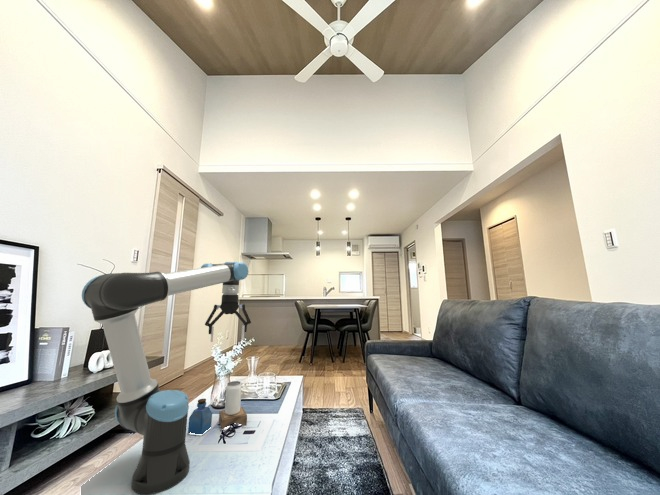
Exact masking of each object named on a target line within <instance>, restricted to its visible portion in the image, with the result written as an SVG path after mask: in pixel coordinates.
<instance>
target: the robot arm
mask: <svg viewBox="0 0 660 495" xmlns="http://www.w3.org/2000/svg"><path fill="white" fill-rule="evenodd" d="M248 275H249V267H248V265H247V264H246V263H245V262H239V261H238V262H237V261H225V262H224V263H210V262H209V263H203V264H202V265H201V266H200V267H199V268H192V269H187V270H180V271H174V272H167V273H163V272H162V271H153V272H116V273H115V272H114V273H103V274H101V275H98V276H95V277H92V279H90V280H88V282H86V283H85V285H84V286H83V288H82V291H81V299H82V302H83V304H84V305H86V307H87V308H89V309H91V314H92V316H93V321H94V322H96V323H99V324H101V325H102V328H103V331H104V332H103V333H104V336H105V339H106V344H107V346H108V351H109V353H110V358H111V361H112V365H113V369H114V372H115V376H116V380H117V383H118V386H119V387H118V388H119V391H120V392H119V393H118V395H117V396H116V403H117V405H115V409H114V417H115V420H116V422H117V423H118V425H120V426H121V427H122V428H124V429H126V430H130V431H132V432H134V433H136V434H139V435H141V436H143V439H142V440H143V441H142V448H141V449H142V450H141V455H140V457H139V460H138V463H137V465H136V467H135V469H134V472H133V475H132V479H131V490H132V491H133V492H134V493H136V494H139V495H140V494H141V495H149V494H150V495H151V494H156V493H160V492H163V491H165V490H169V489H170V488H172V487H174V486H176V485H178V484H179V483H180V482H182V481H183V480H184V479H185V478H186V477H187V476H188V474H189V471H190V462H191V461H190V458H189V454H188V450H187V446H186V436H187V428H188V426H187V424H188V416H189V408H190V405H189V397H188V395H187V393H186V392H184V391H182V390H178V389H175V390H173V389H167V390H160V386H159V383H158V380H157V379H155V378H152V377H151V373H150V369H149V366H148V361H147V357H146V354H145V350H144V345H143V342H142V339H141V334H140V331H139V327H138V322H137V319H136V313H137V311H138V310H139V308H140V307H144V306H146V305H150V304H153V303H154V304H155V303H158V302H162V301H164V300H166V299H167V298H168V297H169V296H172V295H173V296H174V295H177V294H182V293H185V292H190V291H195V290H198V289H203V288H207V287H210V286H211V287H212V286H215V285H220V284H222V288H221V289H222V291H221V293H222V295H221V302H220V304H214V305H213V309H212V311H211V313H210V314H209V316H208V318H207V320H206V321H205V323H204V325H205V326H206V327H208V335H210V342H211V343H213V341H214V331H215V330H214V325H215V323H217V321H219V319H221V317H222V316H223V315H224V314H225V315H234V314H235V315H236V317H237V318H238V320H240V321H241V323H242V325H241V336H240V337H241V341H245V333H247V329H248V325H250V324H251V323H252V321H251V318H250V316H249V314H248V312H247V310H246V305H245V304H239V293H240V292H239V291H240V281H241V280H242V281H243V280H245V279H246V278H247V277H248ZM219 309H220V310H221V311H220V312H219V313H218V315H216V317H215V318H213V317H214V315H215V313H216V312H217V310H219ZM238 309H241V311H242V313H243V315H244V317H245V319H244V318H243V317H242V315H241V314H240V313H239V311H237V310H238ZM212 318H213V320H212ZM211 320H212V321H211Z"/></svg>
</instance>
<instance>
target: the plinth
mask: <svg viewBox="0 0 660 495" xmlns="http://www.w3.org/2000/svg"><path fill="white" fill-rule="evenodd" d="M247 419H248V414H247V412H246V410H245V409H244V407H243V406H240V411H239V413H237V414H235V415H226V414H225V409H223V410H220V411H219V415H218V422H220V423H219V426H221V427H220V429H223V428H224V427H227V426H229V425H230V424H232V423H239V424H242V425H245V426H247V424H248V422H247V421H248V420H247Z"/></svg>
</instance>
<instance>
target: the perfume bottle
mask: <svg viewBox="0 0 660 495" xmlns="http://www.w3.org/2000/svg"><path fill="white" fill-rule="evenodd" d="M206 401H207V399H206V398H199V399H198V400H197V403H196V404H197V405H196V407H197V408H195V409H194V410H193V411H192V413H191V414H190V415H189V417H188V426H187V434H188V433H190V432H191V433H195V434H203V433H204V432H205V431H206V430H208V429H209V428H210V427H211V428H212V421H213V411H212V410H211V408H210V406H207V402H206Z"/></svg>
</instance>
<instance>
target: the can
mask: <svg viewBox="0 0 660 495" xmlns="http://www.w3.org/2000/svg"><path fill="white" fill-rule="evenodd" d="M226 384H227V386H226V387H225V400H224V410H225V414H226V415H235V414H237V413H239V411H240V407H241V405H242V404H241V402H242V401H241V400H242V383H241V381H239V380H232V381H229V382H227V383H226Z"/></svg>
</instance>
